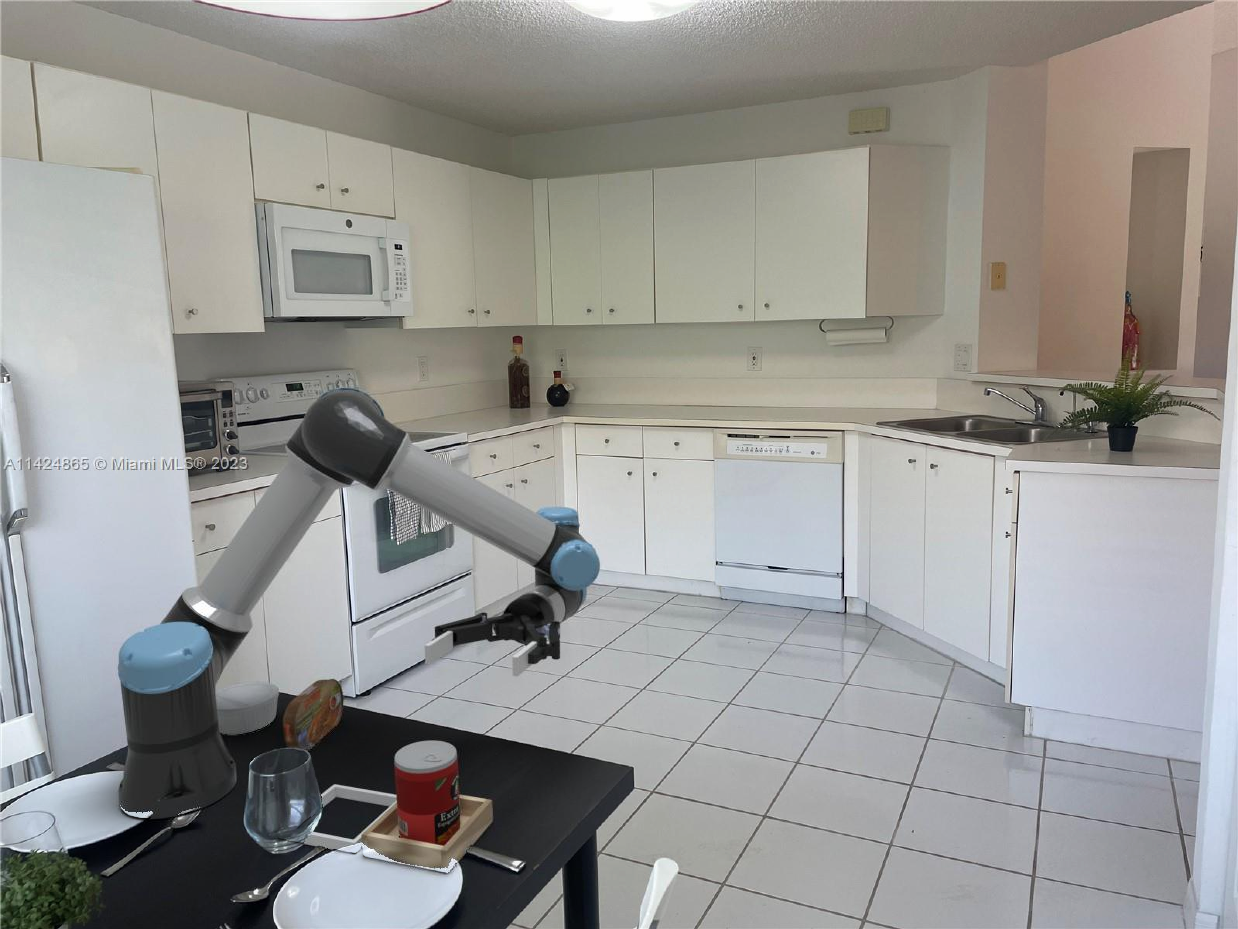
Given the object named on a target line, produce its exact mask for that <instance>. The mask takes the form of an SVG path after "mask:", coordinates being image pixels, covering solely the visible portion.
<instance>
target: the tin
mask: <svg viewBox="0 0 1238 929" xmlns="http://www.w3.org/2000/svg"><path fill="white" fill-rule="evenodd" d="M343 710H344V692H343V688H342V685H341V684H340V682H339V681H338V680H337V679H335V678H328V679H319V680H316V681H314V682H313V683H312V684H310V686H308V687H307V688H305V689H304V690H303V691H301V693H300V694H298V695H297V696H295V697H294V698H293V699H292V700H290V702H289V703H288V704H287V706H286V708H285V711H284V713H283V718H282V729H283V737H284V741H285V742H284V743H285V745H286V747H288V748H289V747H299V748H304V749H308V750H309V751H308V752H310V751H311V750H310V749H312V747H313V746H315V743H318V742H319V740H320V739H322V738H323V736H325V735H326V734H327V732H330V730H331V729H333V728H334V727H335V726H336V727H337V726H338V725H339V723H340V720H341V718H342V715H343ZM334 729H335V728H334ZM334 729H333V730H334ZM330 733H331V732H330ZM319 743H320V742H319ZM319 743H318V744H319ZM315 747H316V746H315ZM312 750H313V749H312Z"/></svg>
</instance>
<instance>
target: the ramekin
mask: <svg viewBox="0 0 1238 929" xmlns="http://www.w3.org/2000/svg"><path fill="white" fill-rule="evenodd" d="M279 695H280V692H279V688H278V686H277V685H276V684H273V683H271V682H267V681H266V682H265V681H252V682H251V681H250V682H241V683H238V684H234V685H229V686H227V687H224V688H222V689H219V690H217V691H216V702H217V713H218V725H219V731H220V734H221V733H222V734H221V735H225V734H227V735H226V736H238V735H237V734H243V733H247V732H252V731H255V730H257V729H261V728H263V727H265V726H267V725H268V724H269V725H271V724H272V723H271V722H273V721H274V720H275V718H276V715H277V708H278V697H279ZM270 723H271V724H270ZM269 725H268V726H269ZM268 726H267V727H268ZM265 728H266V727H265ZM263 729H264V728H263ZM261 730H262V729H261ZM252 733H253V732H252ZM243 735H244V734H243Z"/></svg>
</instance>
